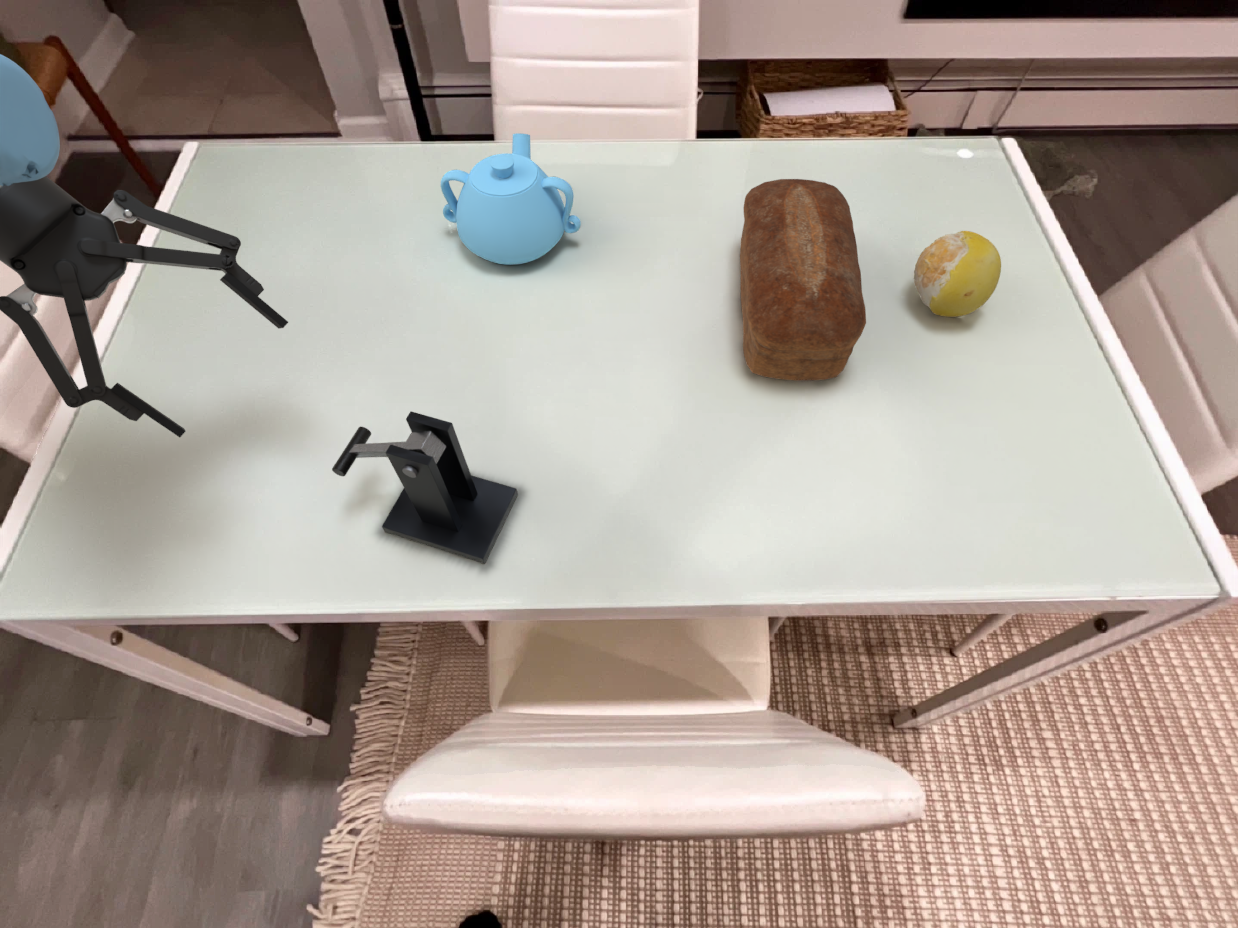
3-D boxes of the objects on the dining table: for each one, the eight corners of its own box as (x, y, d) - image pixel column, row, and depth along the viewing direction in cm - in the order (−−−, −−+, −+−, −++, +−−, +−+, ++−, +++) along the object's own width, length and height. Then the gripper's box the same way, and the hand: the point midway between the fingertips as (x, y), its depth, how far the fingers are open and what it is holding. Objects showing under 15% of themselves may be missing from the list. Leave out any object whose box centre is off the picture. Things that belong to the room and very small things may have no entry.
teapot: (434, 269, 99) (411, 192, 88) (469, 180, 109) (452, 101, 99) (573, 281, 97) (566, 204, 87) (594, 189, 108) (591, 110, 97)
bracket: (384, 532, 77) (337, 459, 64) (422, 465, 81) (385, 385, 69) (485, 564, 75) (456, 494, 62) (518, 494, 79) (497, 416, 67)
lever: (342, 479, 73) (325, 465, 71) (368, 437, 76) (353, 423, 74) (428, 478, 66) (412, 463, 64) (454, 432, 69) (439, 417, 67)
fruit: (966, 273, 97) (999, 213, 89) (990, 331, 92) (1026, 273, 83) (893, 275, 97) (918, 215, 89) (911, 333, 92) (940, 275, 83)
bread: (829, 238, 101) (852, 162, 91) (851, 394, 86) (881, 324, 76) (732, 235, 102) (744, 159, 92) (737, 389, 87) (751, 318, 77)
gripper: (116, 109, 62) (315, 286, 73) (-120, 314, 56) (136, 475, 67) (114, 83, 56) (331, 280, 67) (-152, 310, 50) (136, 488, 61)
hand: (234, 378), depth 67 cm, fingers open, 13 cm apart
